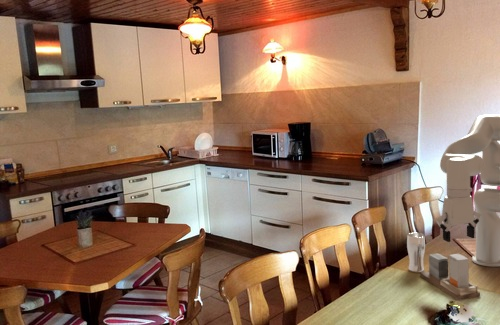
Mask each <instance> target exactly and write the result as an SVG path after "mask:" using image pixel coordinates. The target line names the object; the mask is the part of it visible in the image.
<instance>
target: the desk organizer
mask: <svg viewBox="0 0 500 325" xmlns="http://www.w3.org/2000/svg"><path fill="white" fill-rule="evenodd" d="M428 270H429V271H428ZM428 270H427V271H423V272H419V277H421V278H422V279H424V280H425V281H427V282H429V283H430V284H432V286H434V287H436V288H438V289H439V290H441V291H442V292H444V293H445V294H447V295H449V296H450V297H452V298H453V299H455V300H457V301H462V300H466V299H473V298H479V297H481V291H479V290H478V288H479V286H478V285H477V284H475V283H473V282H471V281H469V287H465V288H459V289H458V288H457V287H455V286H453V285H452V284H450V283H449V257H446V256H443V255H442V254H440V253H431V254H430V253H429V254H428Z"/></svg>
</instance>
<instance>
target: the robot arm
mask: <svg viewBox="0 0 500 325" xmlns="http://www.w3.org/2000/svg"><path fill="white" fill-rule="evenodd" d="M499 142H500V114H483V115H479V116H478V117H476V118H475V120H474V121H473V123H472V124H471V126H470V129H469V130H468V133H467V134H466V136H463V137H461V138H459V139H457V140H455V141H453V142H452V143H450V144H449V145H448V146H447V147H446V148H445V150H444V152H443V155H442V156H441V159H440V164H439V168H440V170H441V172H443V173H444V174H446V196H444V198H443V203H442V211H441V212H442V213H441V215H440V216H438V217H437V218H436V219H435V222H436V223H437V226H438V227H439V228H441V230H442V239H443V241H445V242H447V243H450V242H451V231H450V229H451V228H452V226H459V225H467V226H466V236H467V237H468V238H471V239H475V255H472V257H471V261H472V262H473V263H474V264H476V265H479V266H484V267H490V268H491V267H492V268H497V267H500V216H499V214H500V188H489V187H488V188H487V187H486V188H479V189H477V190H476V191H475V192H474V194H473V197H472V195H471V192H473V188H472V187H471V177H473V176H478V175H479V176H480V178H479V179H480V182H481V183H482V184H484V185H486V186H491V187H500V143H499ZM481 152H482V156H481V155H480V156H479V155H477V154H478V153H481ZM475 154H476V155H475ZM498 213H499V214H498Z"/></svg>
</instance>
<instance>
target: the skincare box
mask: <svg viewBox="0 0 500 325" xmlns="http://www.w3.org/2000/svg"><path fill="white" fill-rule="evenodd" d="M469 261H470V259H469V258H467V257H466V256H465V255H462V254H460V253H453V254H448V274H449V283H450V284H452V285H453V286H455V287H457V288H458V289H459V288H465V287H469V282H470V281H469V276H470V274H469V273H470V272H469V270H470V269H469V268H470V266H469V265H470V262H469Z"/></svg>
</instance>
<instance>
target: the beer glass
mask: <svg viewBox="0 0 500 325" xmlns="http://www.w3.org/2000/svg"><path fill="white" fill-rule="evenodd" d="M406 237H407V238H406V239H407V240H406V248H407V253H408V260H409V264H408V270H409V271H410V272H413V273H420V272H425V267H424V257H425V250H426V241H425V234H423V233H421V232H409V233H407V236H406Z"/></svg>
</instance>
